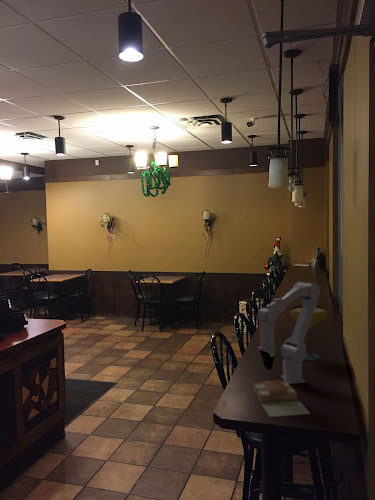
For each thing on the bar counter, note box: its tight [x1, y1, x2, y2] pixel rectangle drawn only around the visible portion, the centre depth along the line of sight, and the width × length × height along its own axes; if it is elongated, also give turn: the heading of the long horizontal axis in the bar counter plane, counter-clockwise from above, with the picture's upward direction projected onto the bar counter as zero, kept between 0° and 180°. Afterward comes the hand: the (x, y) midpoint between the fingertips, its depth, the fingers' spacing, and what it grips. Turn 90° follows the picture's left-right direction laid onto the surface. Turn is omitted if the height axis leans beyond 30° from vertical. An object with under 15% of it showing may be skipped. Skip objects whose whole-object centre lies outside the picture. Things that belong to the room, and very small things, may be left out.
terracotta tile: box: [263, 379, 288, 395], centre depth 166 cm, size 9×7×2 cm
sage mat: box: [260, 400, 311, 419], centre depth 155 cm, size 11×15×1 cm
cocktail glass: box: [289, 305, 328, 361], centre depth 213 cm, size 18×18×25 cm
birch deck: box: [252, 380, 298, 404], centre depth 168 cm, size 14×14×3 cm
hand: (268, 368), depth 175 cm, fingers closed
